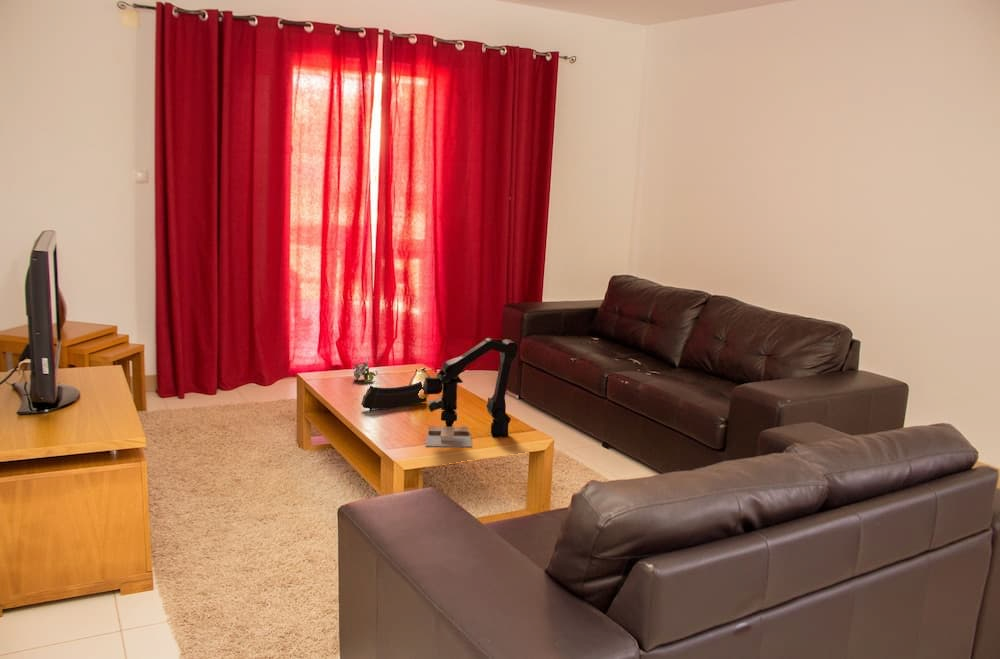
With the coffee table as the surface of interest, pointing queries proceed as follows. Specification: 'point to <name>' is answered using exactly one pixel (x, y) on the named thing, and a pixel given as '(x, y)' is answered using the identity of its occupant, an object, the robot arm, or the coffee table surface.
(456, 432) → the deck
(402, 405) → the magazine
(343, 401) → the coffee table surface
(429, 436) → the mat
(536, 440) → the coffee table surface
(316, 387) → the coffee table surface
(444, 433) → the peach square block
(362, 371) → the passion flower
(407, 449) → the coffee table surface
